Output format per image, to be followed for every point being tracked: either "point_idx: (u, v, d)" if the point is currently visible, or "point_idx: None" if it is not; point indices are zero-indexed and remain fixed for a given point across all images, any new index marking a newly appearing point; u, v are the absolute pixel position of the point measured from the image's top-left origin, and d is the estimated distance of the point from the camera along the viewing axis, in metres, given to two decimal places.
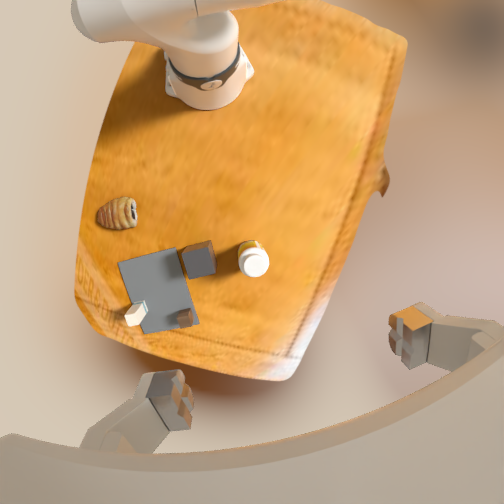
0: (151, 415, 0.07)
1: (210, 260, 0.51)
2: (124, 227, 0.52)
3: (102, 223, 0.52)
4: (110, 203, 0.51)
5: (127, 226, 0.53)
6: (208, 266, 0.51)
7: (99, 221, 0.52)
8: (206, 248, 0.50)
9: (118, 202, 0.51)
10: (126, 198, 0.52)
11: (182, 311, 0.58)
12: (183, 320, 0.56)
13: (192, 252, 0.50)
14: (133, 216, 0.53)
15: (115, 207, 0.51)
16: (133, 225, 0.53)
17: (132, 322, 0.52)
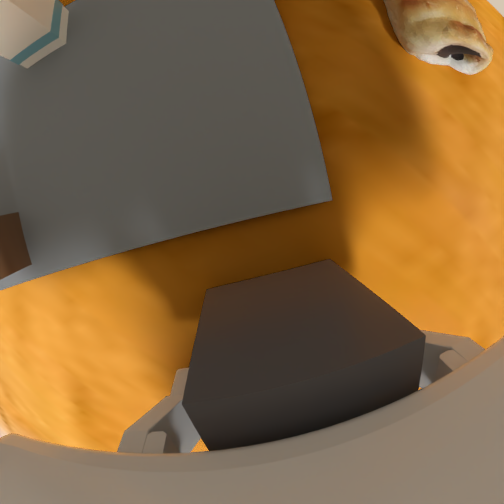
0: None
1: None
2: (415, 1, 0.06)
3: None
4: None
5: (418, 13, 0.07)
6: None
7: None
8: None
9: (480, 23, 0.06)
10: None
11: (6, 233, 0.08)
12: None
13: None
14: (448, 50, 0.08)
15: (471, 7, 0.06)
16: (418, 36, 0.08)
17: None
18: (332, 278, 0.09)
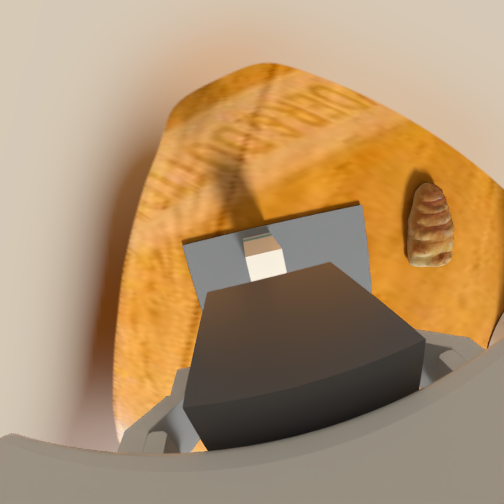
0: None
1: None
2: (420, 250, 0.25)
3: (426, 198, 0.24)
4: (451, 218, 0.25)
5: (419, 254, 0.26)
6: None
7: (428, 190, 0.24)
8: None
9: (453, 237, 0.25)
10: None
11: None
12: None
13: None
14: None
15: (451, 233, 0.24)
16: (415, 263, 0.27)
17: (259, 271, 0.20)
18: (332, 281, 0.09)
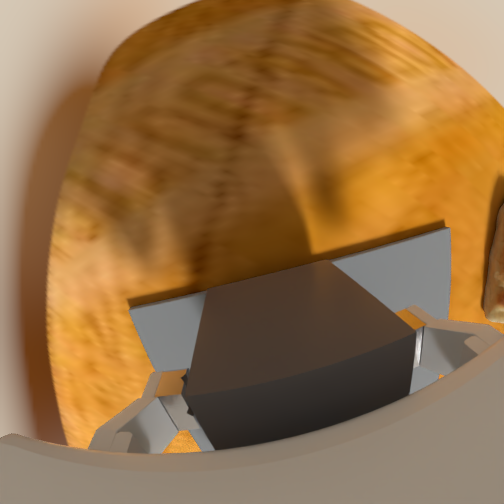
0: (160, 414, 0.07)
1: None
2: None
3: None
4: None
5: None
6: None
7: None
8: None
9: None
10: None
11: None
12: None
13: (398, 399, 0.06)
14: None
15: None
16: (495, 319, 0.14)
17: None
18: (328, 277, 0.10)
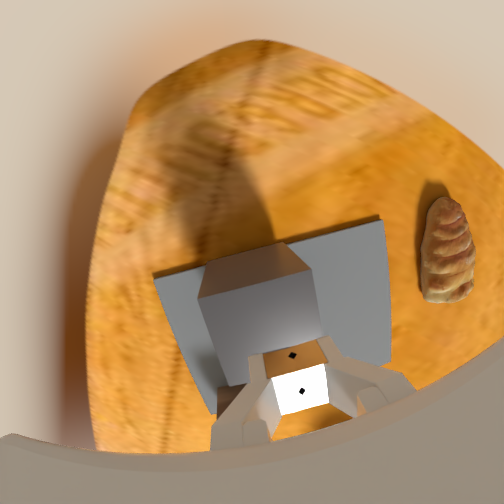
0: (272, 398, 0.07)
1: None
2: (437, 286, 0.19)
3: (443, 221, 0.18)
4: (471, 238, 0.19)
5: (436, 290, 0.20)
6: None
7: (445, 209, 0.18)
8: None
9: (474, 262, 0.19)
10: None
11: None
12: None
13: (312, 312, 0.13)
14: None
15: (472, 258, 0.19)
16: (431, 299, 0.21)
17: None
18: (279, 250, 0.16)
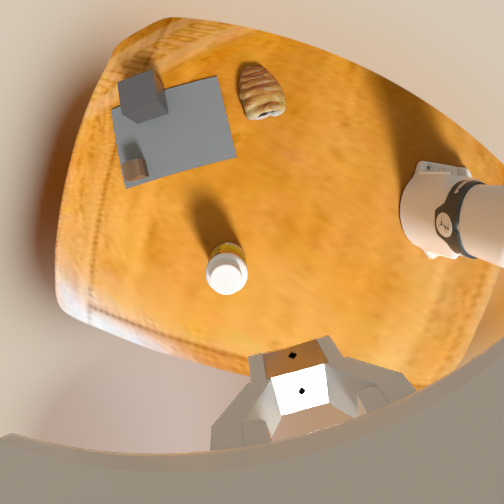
0: (272, 398, 0.07)
1: (139, 105, 0.30)
2: (246, 104, 0.36)
3: (245, 73, 0.35)
4: (275, 81, 0.36)
5: (247, 108, 0.36)
6: (131, 104, 0.30)
7: (247, 68, 0.35)
8: (155, 99, 0.30)
9: (279, 92, 0.36)
10: (284, 102, 0.37)
11: (144, 165, 0.38)
12: (133, 168, 0.35)
13: (152, 82, 0.29)
14: (262, 114, 0.37)
15: (273, 88, 0.35)
16: (249, 116, 0.37)
17: None
18: None
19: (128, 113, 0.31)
